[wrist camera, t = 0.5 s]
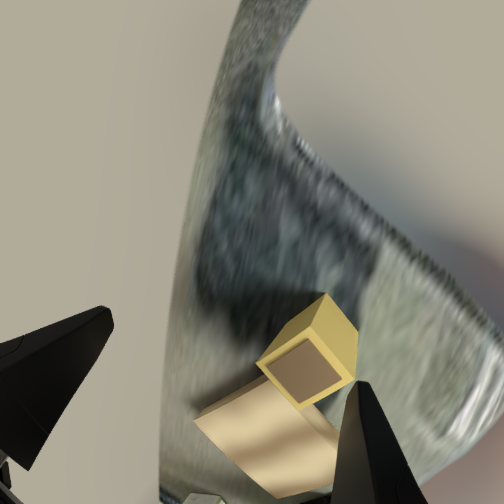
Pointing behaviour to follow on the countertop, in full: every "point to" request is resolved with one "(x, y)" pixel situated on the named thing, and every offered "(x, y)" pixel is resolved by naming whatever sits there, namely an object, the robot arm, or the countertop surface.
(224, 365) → the countertop surface
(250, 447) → the cutting board
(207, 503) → the syrup box
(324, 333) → the mustard block
